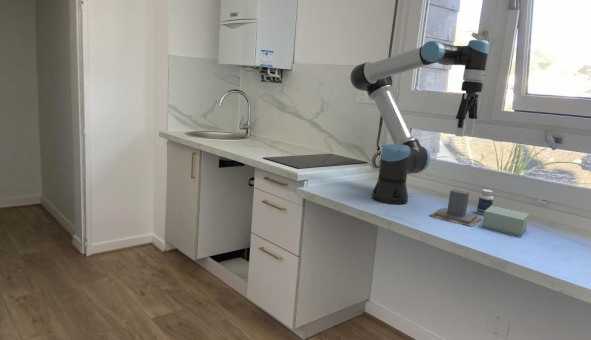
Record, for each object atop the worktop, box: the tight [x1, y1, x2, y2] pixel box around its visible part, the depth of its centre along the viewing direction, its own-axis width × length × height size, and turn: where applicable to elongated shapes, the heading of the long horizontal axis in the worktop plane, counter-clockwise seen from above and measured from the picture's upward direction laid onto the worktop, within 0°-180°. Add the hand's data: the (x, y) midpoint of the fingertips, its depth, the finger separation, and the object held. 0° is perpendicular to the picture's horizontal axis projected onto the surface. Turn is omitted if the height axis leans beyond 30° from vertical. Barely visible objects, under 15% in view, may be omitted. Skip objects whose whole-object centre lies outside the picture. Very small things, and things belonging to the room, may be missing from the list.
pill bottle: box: [476, 188, 494, 216], centre depth 177 cm, size 5×5×10 cm
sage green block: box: [480, 205, 529, 237], centre depth 160 cm, size 13×11×6 cm
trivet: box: [429, 208, 483, 228], centre depth 168 cm, size 16×14×1 cm
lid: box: [434, 188, 478, 224], centre depth 167 cm, size 13×11×10 cm
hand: (464, 135), depth 175 cm, fingers open, 13 cm apart
